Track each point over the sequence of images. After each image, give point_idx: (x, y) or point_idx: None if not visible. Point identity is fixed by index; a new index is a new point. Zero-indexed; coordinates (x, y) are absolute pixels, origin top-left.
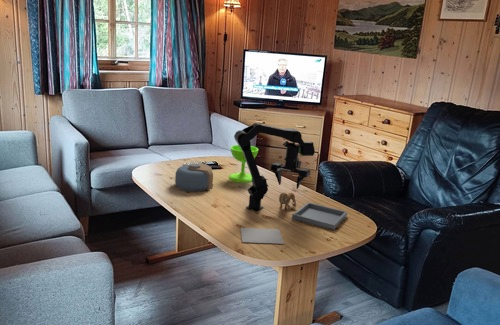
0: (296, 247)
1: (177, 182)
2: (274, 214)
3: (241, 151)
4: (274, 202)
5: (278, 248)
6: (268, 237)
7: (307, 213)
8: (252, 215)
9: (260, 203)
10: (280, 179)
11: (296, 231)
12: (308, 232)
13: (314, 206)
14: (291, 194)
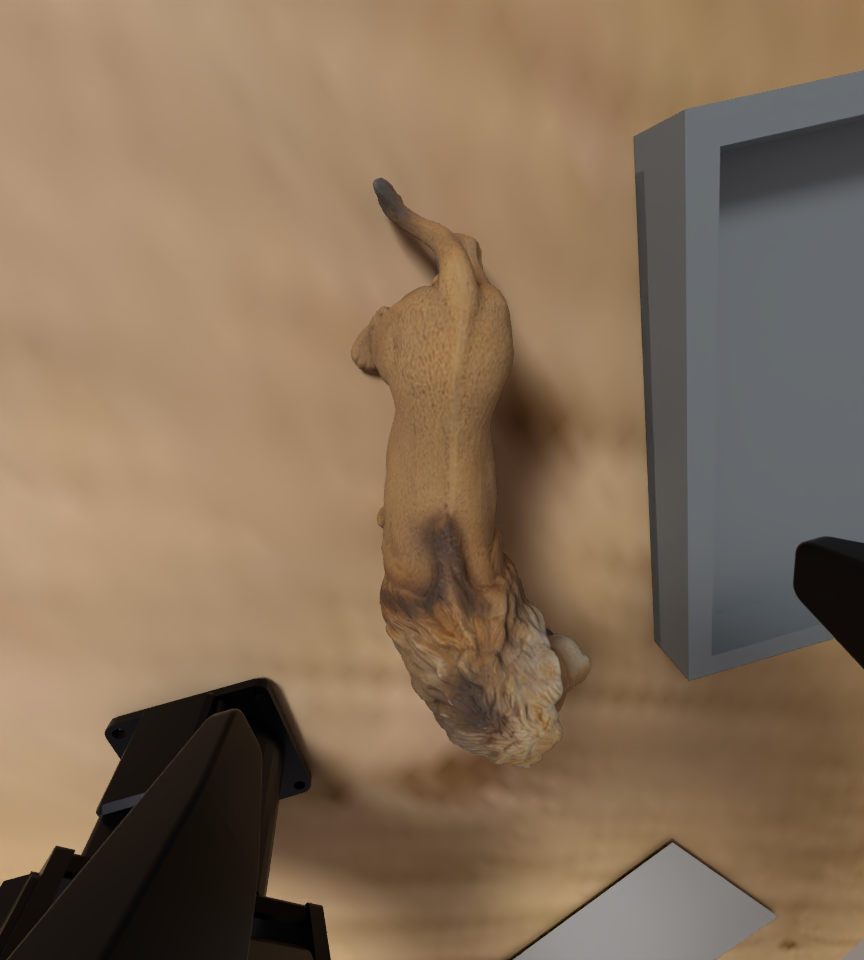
0: (844, 879)
1: None
2: None
3: None
4: (183, 420)
5: (765, 945)
6: (673, 938)
7: (743, 414)
8: (349, 844)
9: (269, 794)
10: (182, 944)
11: (777, 762)
12: (857, 709)
13: (785, 133)
14: (490, 406)
